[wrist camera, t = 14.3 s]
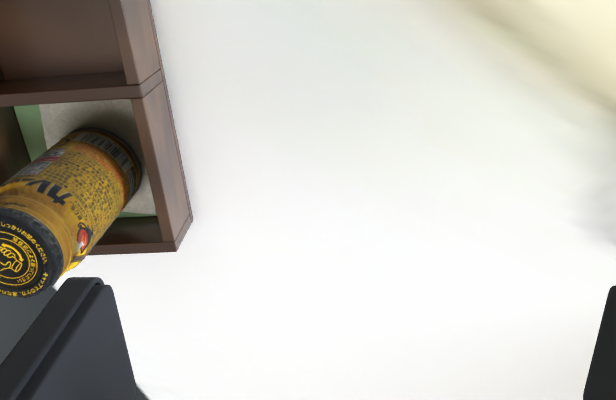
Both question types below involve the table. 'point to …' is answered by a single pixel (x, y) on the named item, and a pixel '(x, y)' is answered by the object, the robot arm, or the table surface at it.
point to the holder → (93, 87)
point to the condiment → (70, 192)
